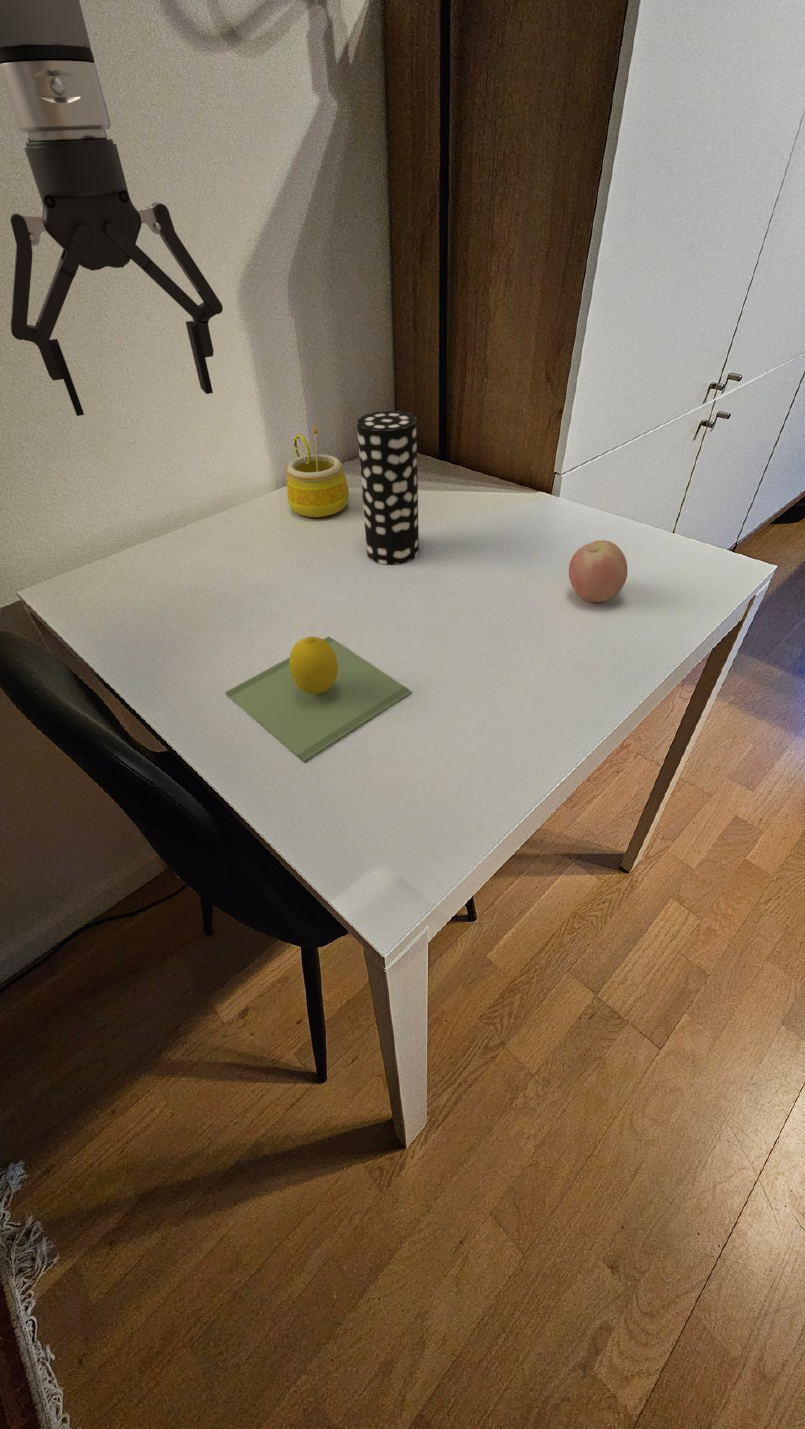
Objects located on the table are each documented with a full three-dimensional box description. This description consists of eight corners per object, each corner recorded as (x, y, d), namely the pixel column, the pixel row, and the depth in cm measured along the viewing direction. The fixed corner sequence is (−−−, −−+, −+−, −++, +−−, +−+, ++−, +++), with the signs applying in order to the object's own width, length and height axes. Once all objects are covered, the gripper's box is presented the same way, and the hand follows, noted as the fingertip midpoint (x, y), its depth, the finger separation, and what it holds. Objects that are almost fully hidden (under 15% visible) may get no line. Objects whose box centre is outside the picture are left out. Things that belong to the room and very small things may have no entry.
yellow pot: (348, 520, 109) (341, 450, 101) (285, 522, 110) (273, 452, 102) (353, 490, 119) (347, 423, 111) (295, 491, 119) (285, 425, 111)
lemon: (348, 682, 77) (341, 628, 71) (329, 711, 73) (321, 657, 67) (307, 674, 78) (297, 620, 73) (286, 702, 74) (275, 648, 69)
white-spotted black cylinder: (358, 559, 99) (346, 427, 86) (379, 536, 105) (371, 408, 91) (407, 568, 97) (403, 433, 83) (426, 543, 102) (425, 414, 89)
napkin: (304, 762, 68) (303, 760, 67) (225, 694, 76) (224, 692, 76) (411, 693, 75) (411, 690, 75) (328, 638, 84) (328, 636, 84)
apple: (585, 576, 93) (594, 526, 88) (631, 595, 89) (644, 543, 84) (553, 598, 89) (561, 546, 84) (600, 619, 85) (611, 566, 80)
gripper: (-101, 143, 48) (22, 432, 62) (221, 130, 55) (265, 390, 70) (-93, 143, 53) (20, 411, 67) (202, 131, 60) (246, 374, 75)
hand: (145, 401), depth 69 cm, fingers open, 13 cm apart
